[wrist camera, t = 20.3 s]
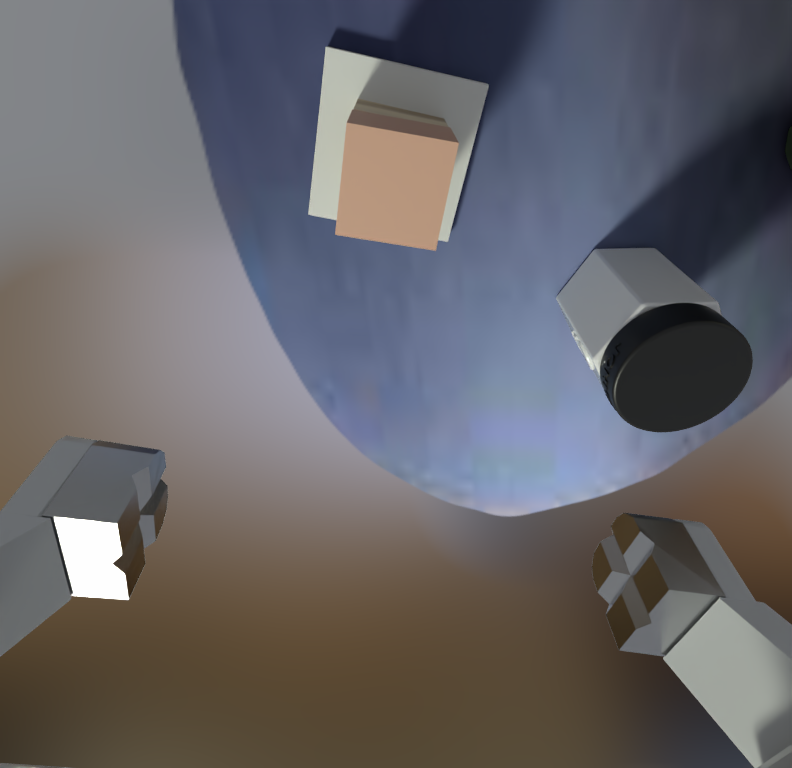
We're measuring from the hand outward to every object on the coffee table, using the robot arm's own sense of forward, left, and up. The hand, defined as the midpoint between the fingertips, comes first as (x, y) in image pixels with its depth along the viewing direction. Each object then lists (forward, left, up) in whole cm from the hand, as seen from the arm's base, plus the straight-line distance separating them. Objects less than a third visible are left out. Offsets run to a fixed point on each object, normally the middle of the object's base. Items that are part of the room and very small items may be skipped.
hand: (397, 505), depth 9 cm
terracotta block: (0, 0, -26) cm, 26 cm away
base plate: (0, 0, -31) cm, 31 cm away
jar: (+7, +19, -31) cm, 37 cm away
